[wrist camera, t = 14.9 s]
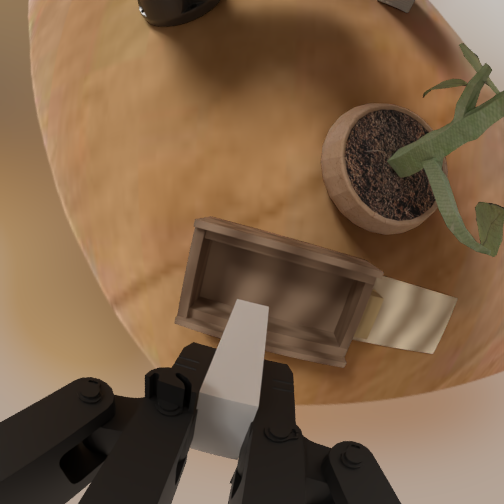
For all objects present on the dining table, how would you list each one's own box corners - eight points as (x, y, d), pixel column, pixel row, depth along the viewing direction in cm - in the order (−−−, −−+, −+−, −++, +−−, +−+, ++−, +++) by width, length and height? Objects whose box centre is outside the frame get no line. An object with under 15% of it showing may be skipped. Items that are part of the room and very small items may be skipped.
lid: (337, 334, 38) (343, 349, 33) (361, 269, 36) (372, 277, 31) (430, 351, 37) (443, 365, 32) (455, 297, 35) (470, 306, 30)
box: (191, 303, 38) (174, 323, 32) (210, 216, 36) (195, 219, 29) (334, 342, 37) (344, 367, 31) (365, 260, 35) (383, 272, 28)
